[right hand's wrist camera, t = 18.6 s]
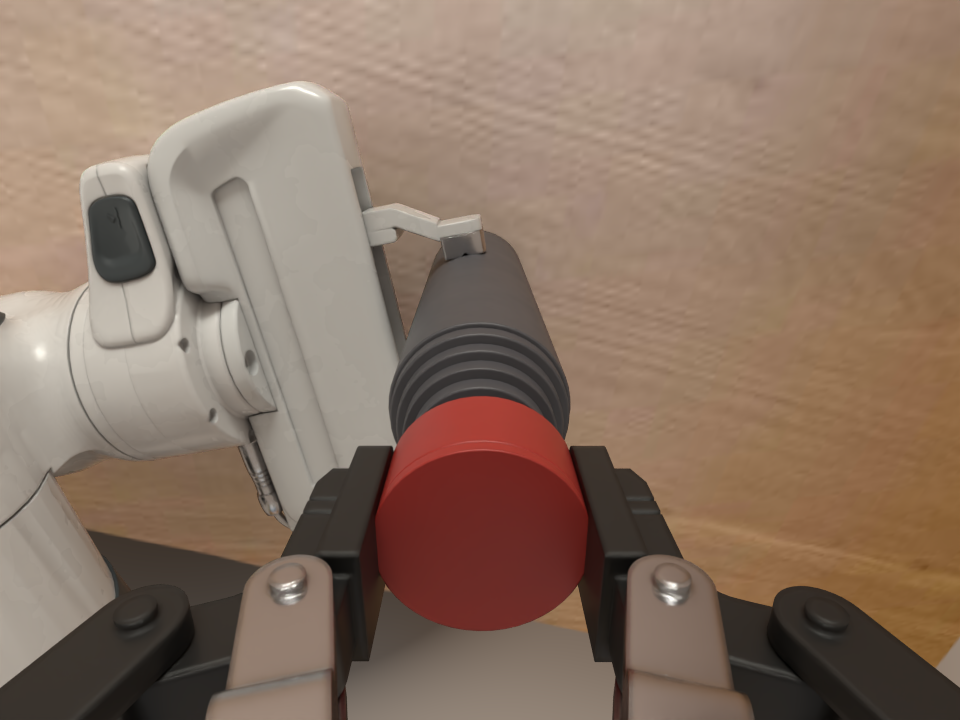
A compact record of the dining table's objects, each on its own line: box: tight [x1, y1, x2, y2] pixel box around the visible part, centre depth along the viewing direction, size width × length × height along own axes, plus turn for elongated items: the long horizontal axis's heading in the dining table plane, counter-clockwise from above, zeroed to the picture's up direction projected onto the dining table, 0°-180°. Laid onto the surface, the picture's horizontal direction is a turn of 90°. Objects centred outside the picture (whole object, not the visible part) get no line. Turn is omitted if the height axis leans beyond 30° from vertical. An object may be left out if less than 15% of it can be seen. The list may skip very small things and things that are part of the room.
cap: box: [375, 396, 588, 631], centre depth 11 cm, size 4×4×2 cm
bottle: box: [388, 231, 570, 444], centre depth 21 cm, size 5×5×22 cm
